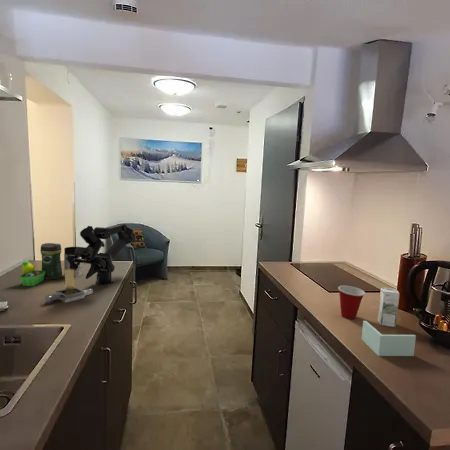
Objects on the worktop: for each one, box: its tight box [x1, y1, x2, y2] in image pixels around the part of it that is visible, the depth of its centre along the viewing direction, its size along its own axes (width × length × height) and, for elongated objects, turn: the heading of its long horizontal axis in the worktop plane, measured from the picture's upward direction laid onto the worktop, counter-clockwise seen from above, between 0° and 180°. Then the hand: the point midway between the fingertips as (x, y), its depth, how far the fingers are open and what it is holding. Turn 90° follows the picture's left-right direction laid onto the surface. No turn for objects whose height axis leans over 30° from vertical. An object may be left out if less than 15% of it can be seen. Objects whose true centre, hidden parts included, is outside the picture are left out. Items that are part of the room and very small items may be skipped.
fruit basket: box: [19, 260, 46, 287], centre depth 171 cm, size 11×9×11 cm
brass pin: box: [64, 268, 76, 295], centre depth 152 cm, size 4×4×13 cm
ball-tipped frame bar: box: [44, 287, 94, 305], centre depth 153 cm, size 21×9×3 cm, turn 141°
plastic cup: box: [337, 284, 366, 320], centre depth 144 cm, size 11×11×12 cm
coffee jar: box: [40, 242, 63, 280], centre depth 181 cm, size 10×8×19 cm
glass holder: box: [63, 246, 86, 278], centre depth 190 cm, size 9×14×15 cm, turn 135°
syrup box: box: [377, 287, 400, 328], centre depth 137 cm, size 6×6×14 cm
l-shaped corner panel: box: [361, 320, 417, 357], centre depth 118 cm, size 12×12×8 cm
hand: (77, 277), depth 157 cm, fingers open, 9 cm apart
